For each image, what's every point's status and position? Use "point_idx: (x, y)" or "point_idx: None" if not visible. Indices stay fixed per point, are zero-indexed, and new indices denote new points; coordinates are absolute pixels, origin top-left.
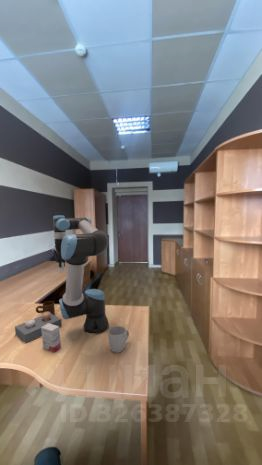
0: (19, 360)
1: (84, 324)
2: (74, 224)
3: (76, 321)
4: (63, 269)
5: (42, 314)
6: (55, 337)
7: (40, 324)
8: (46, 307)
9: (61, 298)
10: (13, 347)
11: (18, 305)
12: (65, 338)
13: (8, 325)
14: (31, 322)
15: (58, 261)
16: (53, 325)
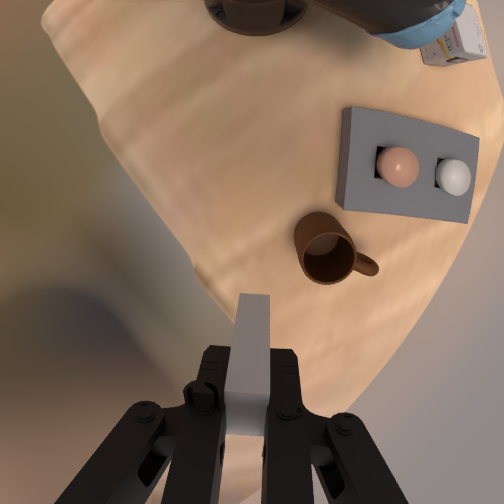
0: (493, 86)
1: (301, 7)
2: None
3: (276, 90)
4: (248, 314)
5: (416, 172)
6: None
7: (424, 149)
8: (350, 237)
9: (448, 10)
10: (483, 152)
11: (317, 396)
12: (378, 37)
13: (426, 292)
14: (460, 163)
15: (349, 430)
16: (459, 20)
